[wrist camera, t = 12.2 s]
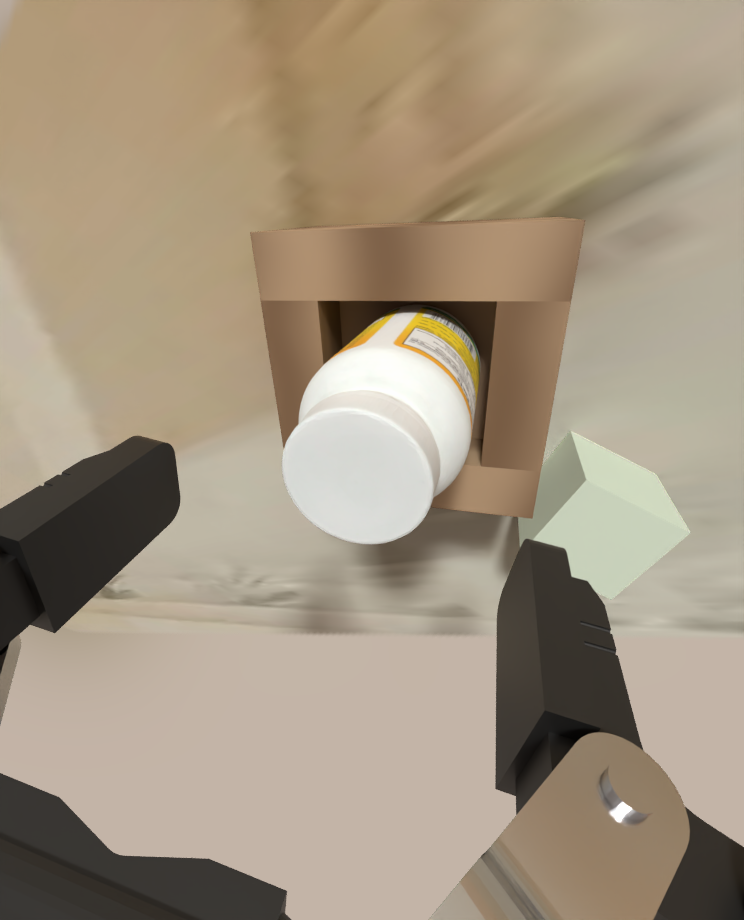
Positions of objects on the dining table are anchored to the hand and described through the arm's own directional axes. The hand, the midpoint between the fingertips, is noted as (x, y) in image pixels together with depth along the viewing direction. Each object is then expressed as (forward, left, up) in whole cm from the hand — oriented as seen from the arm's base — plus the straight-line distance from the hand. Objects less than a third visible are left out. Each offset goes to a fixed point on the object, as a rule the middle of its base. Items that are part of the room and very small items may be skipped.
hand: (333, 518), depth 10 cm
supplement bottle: (0, 0, -11) cm, 11 cm away
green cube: (-10, +6, -15) cm, 19 cm away
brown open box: (0, 0, -15) cm, 15 cm away
